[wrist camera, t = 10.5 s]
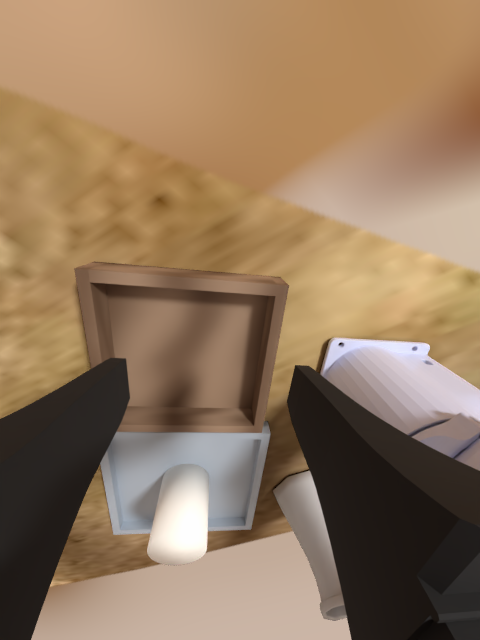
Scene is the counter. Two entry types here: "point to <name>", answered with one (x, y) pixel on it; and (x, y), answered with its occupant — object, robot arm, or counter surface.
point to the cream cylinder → (181, 516)
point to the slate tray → (183, 448)
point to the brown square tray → (185, 343)
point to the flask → (312, 538)
